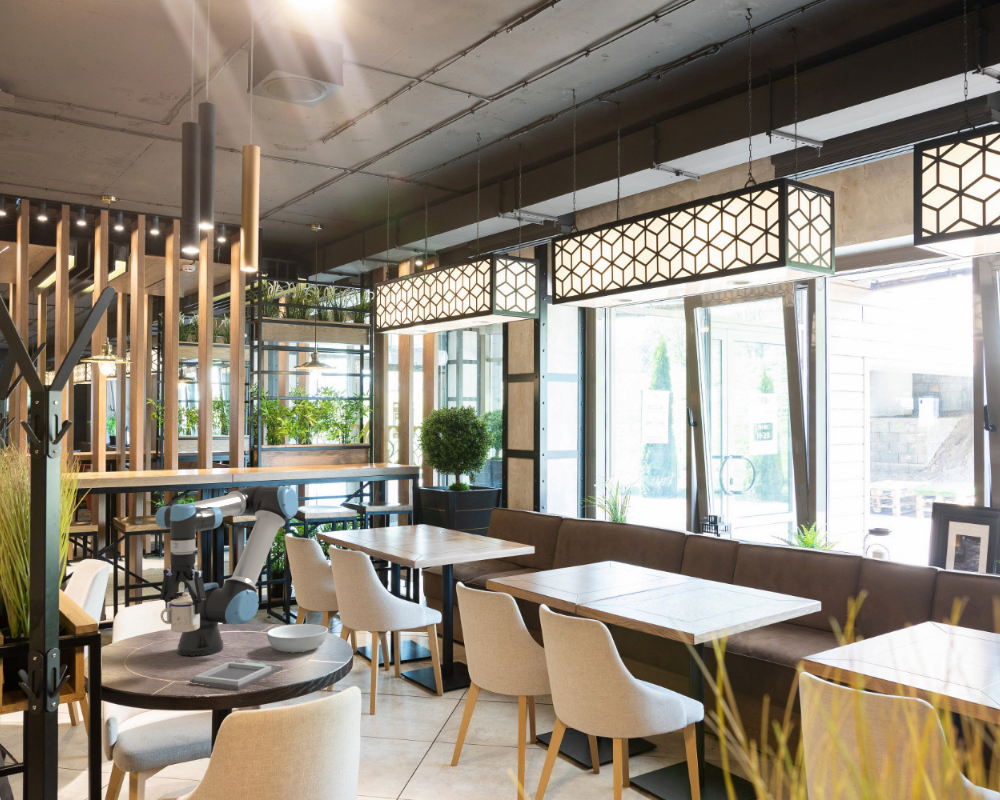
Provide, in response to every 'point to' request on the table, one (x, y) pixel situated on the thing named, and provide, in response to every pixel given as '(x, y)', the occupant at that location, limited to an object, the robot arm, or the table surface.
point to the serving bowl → (297, 637)
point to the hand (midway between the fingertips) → (182, 623)
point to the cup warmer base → (235, 674)
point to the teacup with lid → (181, 614)
